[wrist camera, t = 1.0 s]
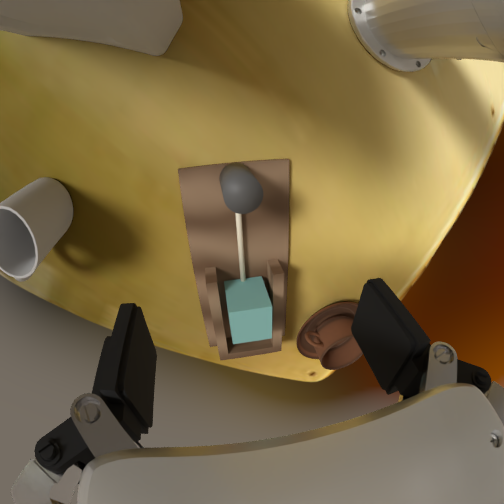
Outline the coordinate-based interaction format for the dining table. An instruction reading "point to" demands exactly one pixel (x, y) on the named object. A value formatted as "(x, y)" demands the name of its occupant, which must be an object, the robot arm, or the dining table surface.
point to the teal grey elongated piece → (245, 289)
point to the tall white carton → (97, 21)
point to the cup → (32, 225)
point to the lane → (226, 248)
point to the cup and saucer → (330, 336)
